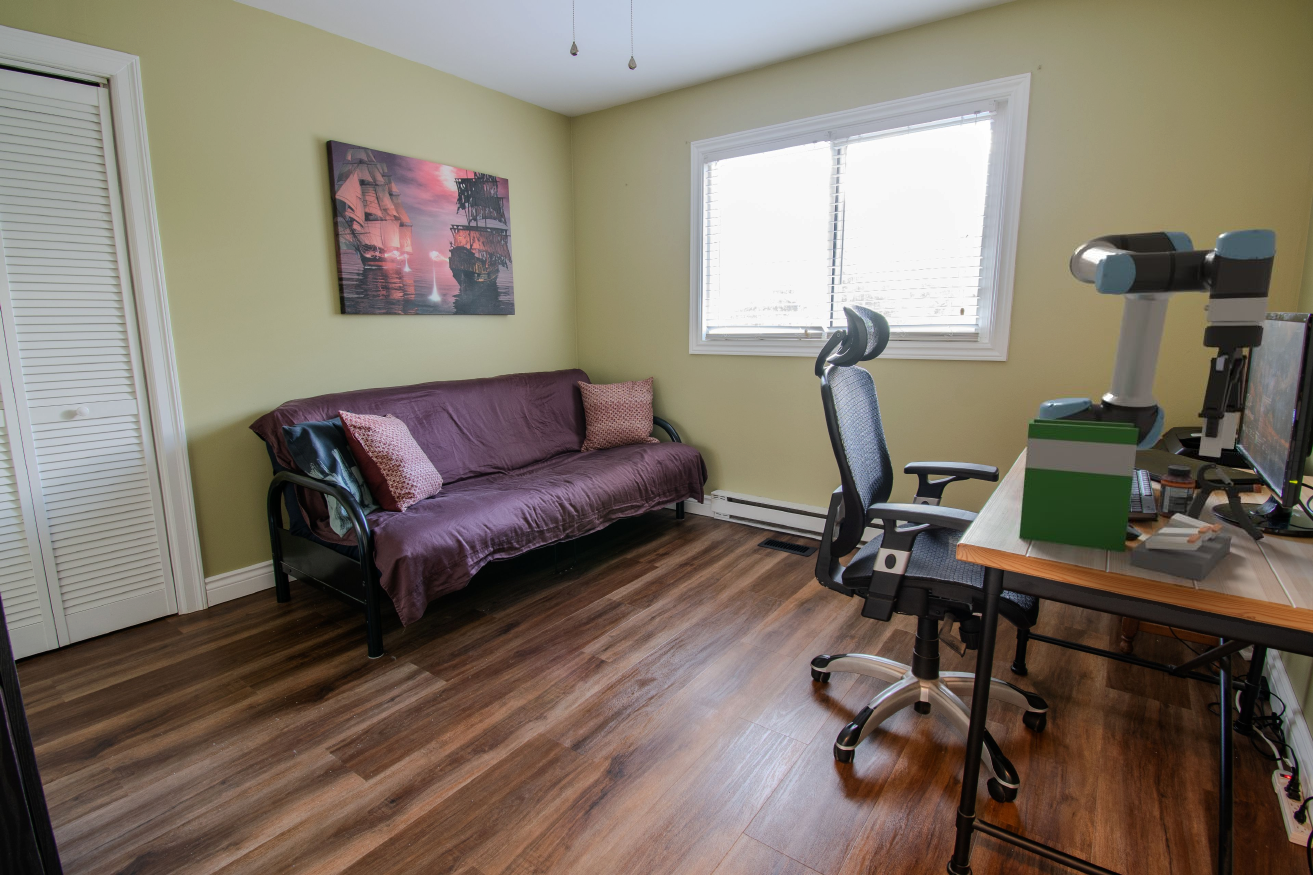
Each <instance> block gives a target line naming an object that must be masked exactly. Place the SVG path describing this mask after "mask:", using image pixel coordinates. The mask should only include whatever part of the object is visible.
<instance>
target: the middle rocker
mask: <svg viewBox="0 0 1313 875" xmlns="http://www.w3.org/2000/svg"><path fill="white" fill-rule="evenodd" d="M1159 530H1160V529H1159ZM1156 532H1157V531H1156ZM1157 533H1158V536H1163V537H1191V536H1192V535H1201V540H1207V539H1209V538H1210V537H1211V536H1212V530H1211V526H1203V527H1202V528H1163V529H1162V530H1160V531H1159V532H1157Z"/></svg>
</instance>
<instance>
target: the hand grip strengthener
mask: <svg viewBox="0 0 1313 875" xmlns="http://www.w3.org/2000/svg"><path fill="white" fill-rule="evenodd" d="M1211 469H1212V470H1214V469H1215V470H1214V473H1215V474H1217V476H1218V477H1219V478H1220V479H1221V480H1222V481H1223V482H1224V484H1218V483H1213V482H1211V481H1208V480H1207V478H1206V477H1205V474H1206V472H1207V471H1208V470H1211ZM1196 471H1197V472H1196V481H1197V483H1199V485H1200V486H1201V489H1200V490H1197V492H1196V493H1195V494H1194V497H1193V500H1192V502H1191V504H1190V506H1189V509H1188V511H1187V513H1186V516H1188V517H1190V518H1193V519H1196V520H1199V517H1200V515H1201V513H1202V511H1203V509H1204V507H1205V505H1206V502H1207V501H1208V499H1209V498H1210V495H1211V494H1212V493H1213V492H1215V491H1223V492H1225V494H1226V498H1227V500H1228V501H1227V502H1228V505H1229V508H1230V511H1231V513H1232V514H1233V516H1234V518H1235V519H1236V522H1238V524H1239V525H1240V527H1241V528H1242V529H1243V530H1244V531H1245V533H1246V534H1248V535H1249V537H1251V538H1252V539H1253V540H1254V541H1256V542H1259V541H1260V540H1262V539H1264V538H1265V536H1264V533H1263V531H1261V530H1260V529H1259V528H1258V527H1257V526H1256V525H1255V524H1254V523H1253V521H1252V520H1251V519H1250V517H1248V514H1247V513H1246V512H1245V510H1244V508H1243V507H1242V497H1241V495H1239V494H1243V493H1249V494H1252V493H1253V494H1262V485H1261V484H1248V485H1247V484H1246V485H1245V484H1242V485H1240V484H1234V482H1233V481H1231V479H1230V478H1229V476H1227V475H1226V474H1225V472H1224V471H1223V470H1222V469H1221V468H1220V467H1217V463H1215V462H1207V463H1204V464H1201V466H1199V468H1198V469H1197V470H1196ZM1228 483H1229V484H1228Z"/></svg>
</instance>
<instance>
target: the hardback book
mask: <svg viewBox="0 0 1313 875" xmlns="http://www.w3.org/2000/svg"><path fill="white" fill-rule="evenodd" d="M1028 420H1029V421H1028V422H1029V423H1028V430H1027V431H1028V432H1027V440H1026V442H1027V444H1026V453H1025V455H1026V456H1025V465H1024V466H1025V467H1024V477H1023V478H1024V479H1023V487H1022V503H1021V512H1020V522H1019V523H1020V524H1019V525H1020V526H1019V537H1018V538H1019V539H1020V538H1023V539H1022V540H1028V539H1029V540H1028V541H1030V540H1031V541H1035V540H1036V541H1037V542H1043V543H1044V542H1045V543H1050V542H1051V543H1050V544H1057V545H1058V544H1059V545H1066V546H1074V547H1080V548H1081V547H1082V548H1090V549H1091V548H1092V549H1097V550H1104V551H1111V552H1118V553H1125V552H1126V551H1125V549H1126V542H1127V541H1126V540H1127V532H1128V523H1129V515H1130V507H1131V506H1130V505H1131V497H1132V490H1133V482H1134V471H1135V465H1136V454H1137V450H1136V447H1137V439H1138V430H1139V429H1135V428H1134V424H1129V423H1109V422H1089V421H1069V420H1050V419H1037V418H1030V417H1029V419H1028Z"/></svg>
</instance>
